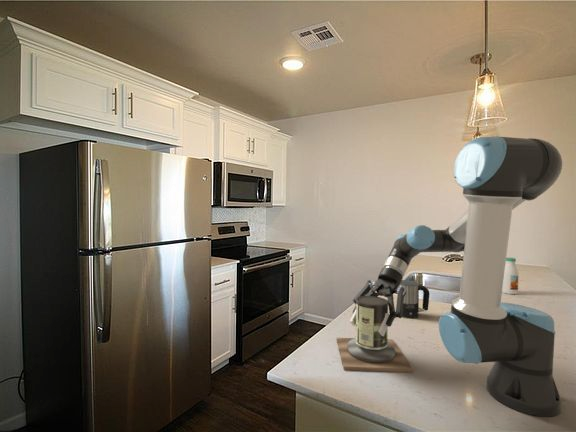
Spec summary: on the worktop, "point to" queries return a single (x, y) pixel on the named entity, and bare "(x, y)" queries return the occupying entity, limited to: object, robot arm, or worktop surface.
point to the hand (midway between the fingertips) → (366, 328)
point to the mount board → (370, 366)
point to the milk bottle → (510, 277)
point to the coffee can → (370, 322)
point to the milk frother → (413, 298)
